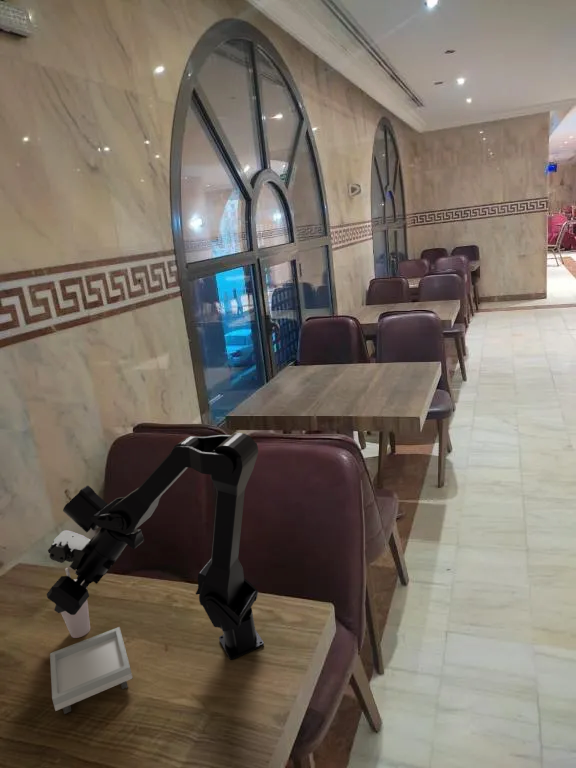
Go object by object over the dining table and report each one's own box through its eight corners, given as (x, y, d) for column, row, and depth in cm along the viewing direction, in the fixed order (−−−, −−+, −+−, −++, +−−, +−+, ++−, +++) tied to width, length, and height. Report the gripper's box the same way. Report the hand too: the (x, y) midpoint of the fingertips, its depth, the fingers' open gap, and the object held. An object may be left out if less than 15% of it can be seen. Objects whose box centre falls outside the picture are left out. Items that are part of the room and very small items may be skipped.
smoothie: (85, 643, 103) (69, 578, 100) (56, 642, 104) (38, 578, 101) (103, 620, 109) (88, 559, 106) (75, 620, 110) (59, 559, 107)
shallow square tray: (135, 688, 90) (130, 667, 89) (58, 721, 85) (52, 699, 84) (124, 646, 100) (119, 626, 99) (55, 673, 96) (49, 653, 95)
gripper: (94, 498, 110) (57, 550, 114) (44, 547, 92) (1, 606, 96) (139, 530, 110) (100, 581, 114) (97, 585, 92) (53, 643, 96)
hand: (65, 600), depth 105 cm, fingers closed on smoothie, 6 cm apart
